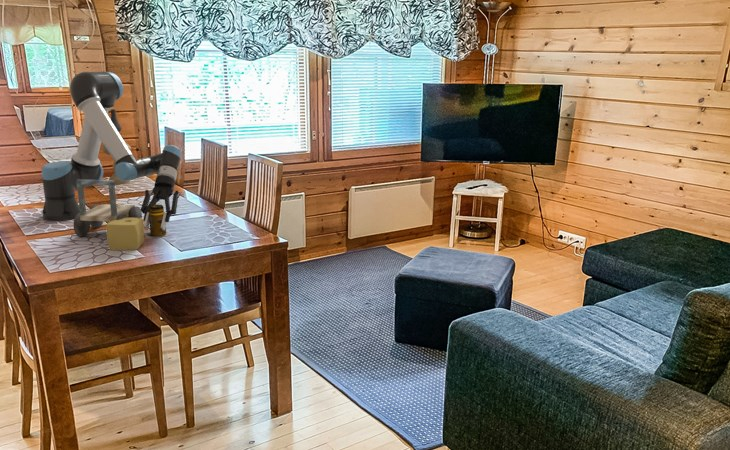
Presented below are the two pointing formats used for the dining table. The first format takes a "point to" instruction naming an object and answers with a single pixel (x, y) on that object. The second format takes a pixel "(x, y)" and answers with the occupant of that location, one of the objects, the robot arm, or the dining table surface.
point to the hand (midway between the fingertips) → (154, 228)
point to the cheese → (125, 234)
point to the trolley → (100, 209)
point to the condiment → (156, 222)
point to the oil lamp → (113, 177)
